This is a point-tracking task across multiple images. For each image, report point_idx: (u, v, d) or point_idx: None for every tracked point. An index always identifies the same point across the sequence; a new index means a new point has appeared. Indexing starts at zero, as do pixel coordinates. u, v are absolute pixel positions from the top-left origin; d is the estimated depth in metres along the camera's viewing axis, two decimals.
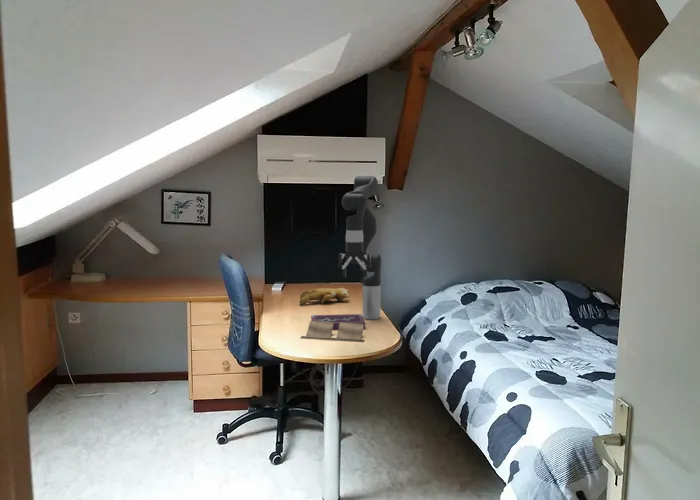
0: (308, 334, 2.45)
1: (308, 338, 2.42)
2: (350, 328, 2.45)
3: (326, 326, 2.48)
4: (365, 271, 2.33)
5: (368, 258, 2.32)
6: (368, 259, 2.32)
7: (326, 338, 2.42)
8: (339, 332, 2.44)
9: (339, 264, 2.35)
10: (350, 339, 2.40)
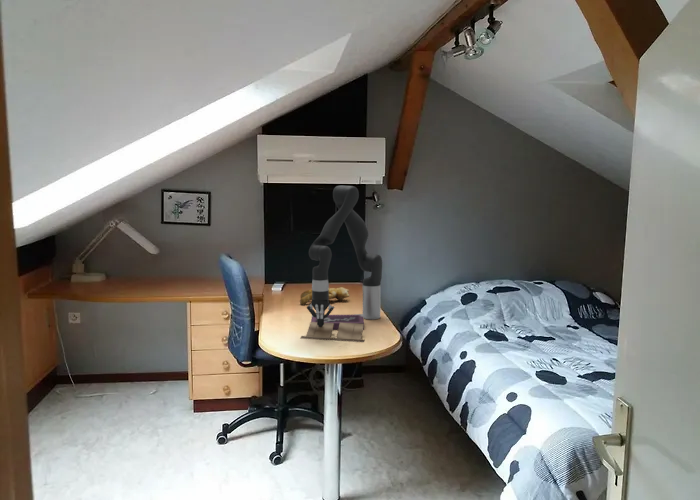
0: (308, 334, 2.45)
1: (308, 338, 2.42)
2: (350, 328, 2.45)
3: (326, 327, 2.48)
4: (322, 320, 2.47)
5: (330, 310, 2.45)
6: (329, 311, 2.45)
7: (326, 338, 2.42)
8: (339, 332, 2.44)
9: (314, 314, 2.47)
10: (350, 339, 2.40)
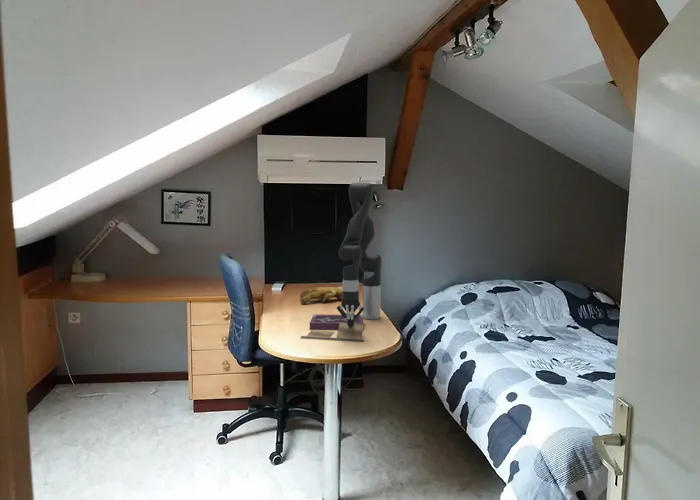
0: (308, 335, 2.46)
1: (308, 338, 2.42)
2: (350, 328, 2.45)
3: (327, 333, 2.49)
4: (352, 321, 2.44)
5: (360, 310, 2.42)
6: (360, 311, 2.42)
7: (326, 338, 2.42)
8: (339, 332, 2.44)
9: (344, 314, 2.44)
10: (350, 339, 2.40)
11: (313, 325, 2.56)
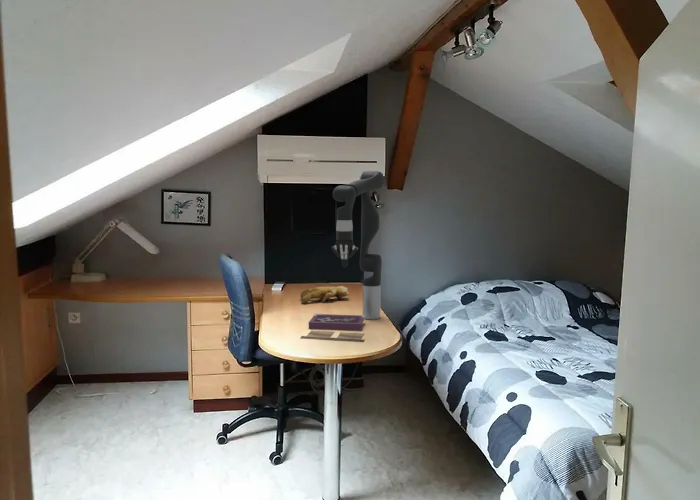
0: (308, 335, 2.46)
1: (308, 338, 2.42)
2: (351, 335, 2.47)
3: (327, 333, 2.49)
4: (346, 260, 2.52)
5: (354, 250, 2.50)
6: (353, 251, 2.50)
7: (326, 338, 2.42)
8: (339, 336, 2.45)
9: (338, 254, 2.52)
10: (350, 339, 2.40)
11: (312, 324, 2.57)
